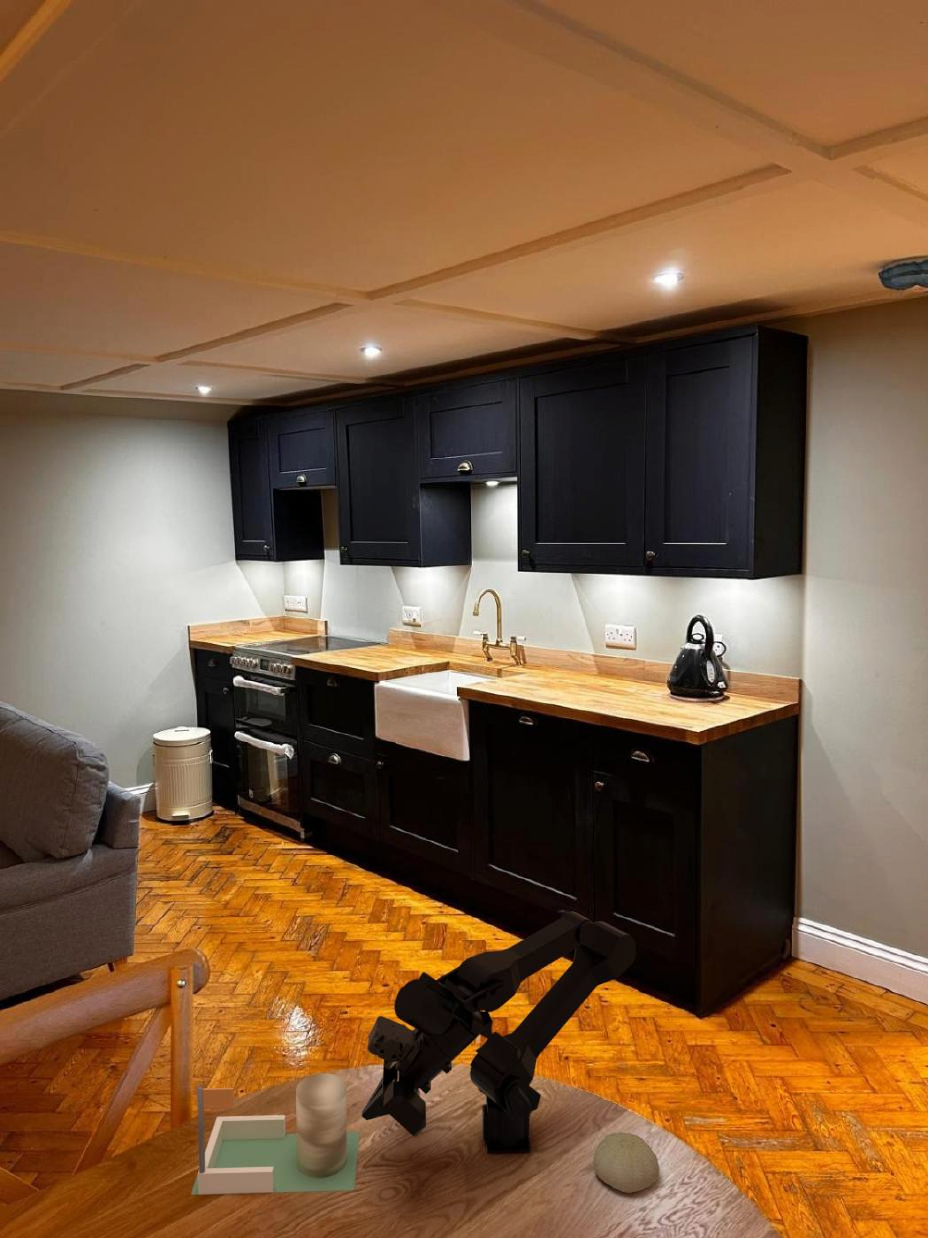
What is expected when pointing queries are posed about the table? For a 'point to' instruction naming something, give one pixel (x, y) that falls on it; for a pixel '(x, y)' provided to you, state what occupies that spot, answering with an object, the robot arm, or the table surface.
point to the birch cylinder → (321, 1125)
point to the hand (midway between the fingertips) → (364, 1116)
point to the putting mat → (285, 1163)
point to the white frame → (233, 1129)
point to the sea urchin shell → (626, 1162)
